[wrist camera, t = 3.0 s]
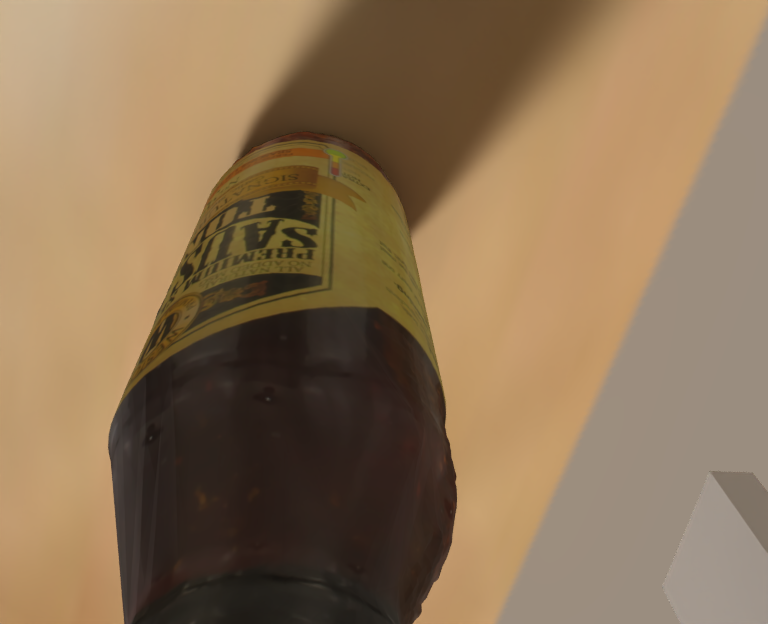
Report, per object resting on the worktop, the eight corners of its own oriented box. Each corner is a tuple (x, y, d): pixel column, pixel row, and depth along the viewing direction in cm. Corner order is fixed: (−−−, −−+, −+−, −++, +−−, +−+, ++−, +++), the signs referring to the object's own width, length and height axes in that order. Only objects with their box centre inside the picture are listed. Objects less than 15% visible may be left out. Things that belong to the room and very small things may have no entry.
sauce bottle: (301, 79, 21) (221, 811, 4) (441, 218, 23) (797, 1054, 6) (162, 228, 23) (-338, 1191, 5) (305, 342, 25) (277, 1262, 8)
